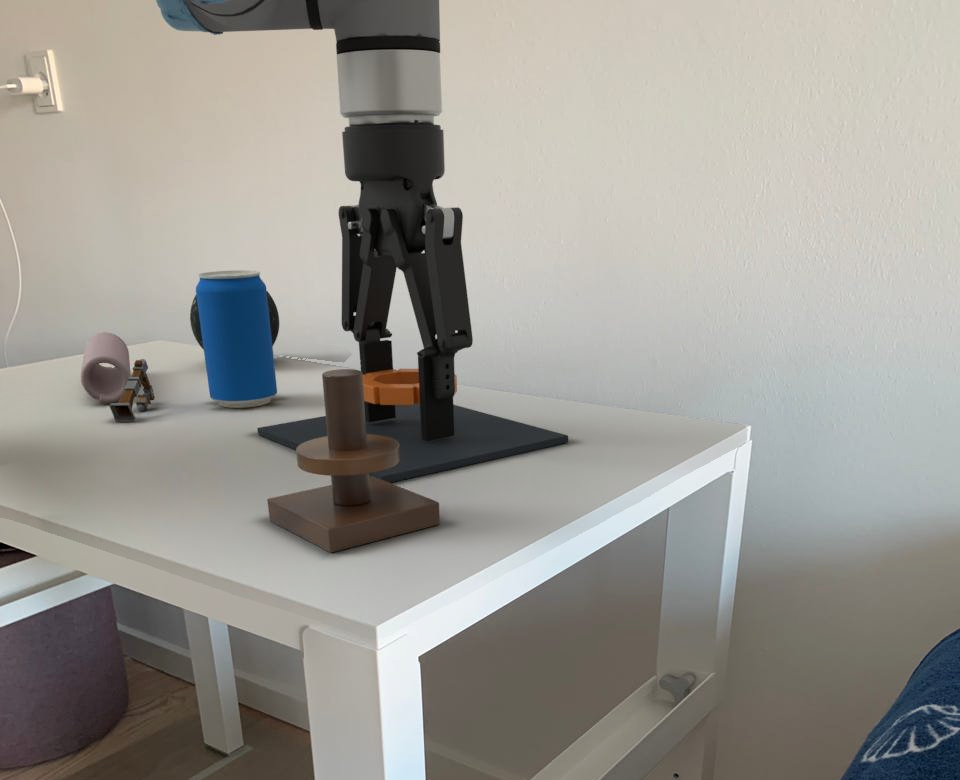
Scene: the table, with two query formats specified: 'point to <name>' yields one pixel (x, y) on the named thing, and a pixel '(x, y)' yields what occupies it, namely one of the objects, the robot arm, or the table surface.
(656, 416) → the table surface
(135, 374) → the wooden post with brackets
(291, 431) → the mat
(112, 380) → the pink tube
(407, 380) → the ring
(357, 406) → the stand
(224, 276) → the beverage can
